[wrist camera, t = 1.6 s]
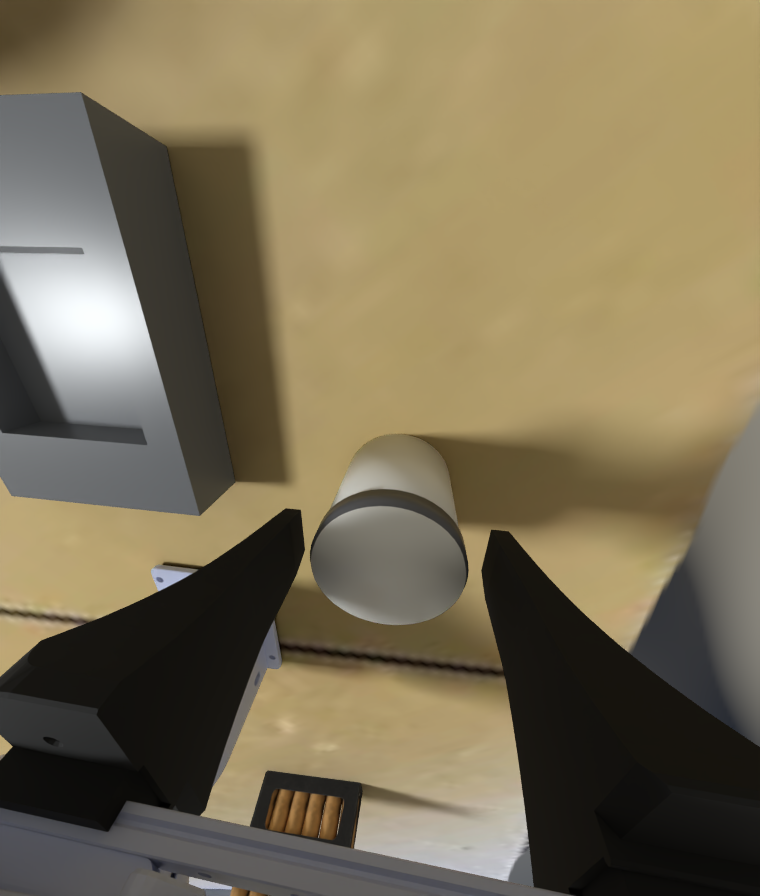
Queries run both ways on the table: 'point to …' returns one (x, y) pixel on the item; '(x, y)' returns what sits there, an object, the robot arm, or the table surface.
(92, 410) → the grey panel with knob
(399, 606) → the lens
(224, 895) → the external hard drive
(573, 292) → the table surface
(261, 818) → the ammunition clip
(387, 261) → the table surface
